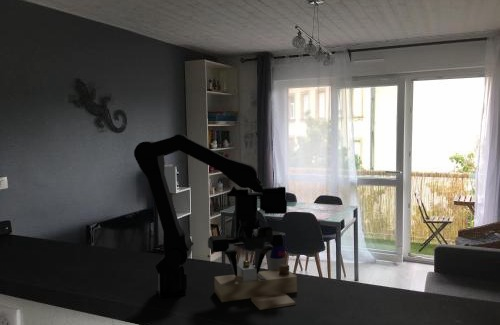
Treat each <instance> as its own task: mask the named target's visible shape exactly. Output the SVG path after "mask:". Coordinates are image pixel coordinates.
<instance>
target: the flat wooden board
mask: <svg viewBox="0 0 500 325" xmlns="http://www.w3.org/2000/svg"><path fill="white" fill-rule="evenodd" d="M250 301H251V302H252V303H253V304H254V305H255V307H256V308H257V309H258V310H259V311H263V310H267V309H268V310H270V309H275V308H282V307H290V306H296V301H295V300H294V299H292V298H291V297H290V296H289V295H287V293H285V294H277V295H270V296H262V297H255V298H250Z"/></svg>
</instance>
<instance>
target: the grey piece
mask: <svg viewBox="0 0 500 325" xmlns="http://www.w3.org/2000/svg"><path fill="white" fill-rule="evenodd" d="M237 276H238V277H239V278H240V279H241V280H242V281H243V282H247V281H255V280H257V268H255V265H253V264H252V263H251V262H250V260H243V261H242V263H241V262H240V263H237Z"/></svg>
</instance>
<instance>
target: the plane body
mask: <svg viewBox="0 0 500 325" xmlns="http://www.w3.org/2000/svg"><path fill="white" fill-rule="evenodd" d="M297 292H298V276H297V275H295V273H292V271H290V264H287V263H286V264H282V265H279V269H278V270H270V271H268V270H263V271H262V270H261V271H259V273H258V274H257V280H255V281H247V282H243V281H242V280H241V279H240V278H239V277H238V276H235V275H234V274H228V275H226V274H225V275H218V276H214V294H216V296H217V298H218V299H219V300H220V302H221V303H226V302H231V301H239V300H246V299H247V300H248V299H251V298H255V297H263V296H270V295H278V294H291V293H297Z"/></svg>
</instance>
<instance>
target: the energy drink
mask: <svg viewBox="0 0 500 325" xmlns="http://www.w3.org/2000/svg"><path fill="white" fill-rule="evenodd" d="M277 232H278V233H280V234H281V235H282V236H283V238H284V246H277V247H273V246H272V245H271V247H272V248H273V249H272V250H269V251H268V252H267V271H270V270H278V269H279V265H282V264H286V265H287V236H286V233H285V232H280V231H277Z"/></svg>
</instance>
